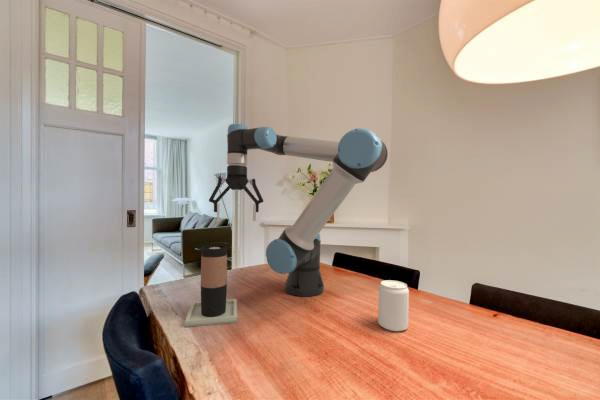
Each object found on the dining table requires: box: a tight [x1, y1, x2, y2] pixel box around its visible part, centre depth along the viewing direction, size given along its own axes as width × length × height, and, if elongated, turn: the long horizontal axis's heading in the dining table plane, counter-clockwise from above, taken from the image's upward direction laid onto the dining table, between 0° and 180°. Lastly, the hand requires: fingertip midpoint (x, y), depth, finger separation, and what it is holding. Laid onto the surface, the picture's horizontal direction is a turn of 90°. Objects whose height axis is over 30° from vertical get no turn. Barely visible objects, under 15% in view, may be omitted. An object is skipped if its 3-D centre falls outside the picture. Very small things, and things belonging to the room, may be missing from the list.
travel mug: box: [200, 244, 228, 317], centre depth 83 cm, size 8×8×20 cm
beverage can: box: [377, 279, 410, 332], centre depth 77 cm, size 8×8×12 cm
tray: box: [184, 298, 238, 328], centre depth 83 cm, size 14×14×2 cm
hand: (236, 221), depth 105 cm, fingers open, 13 cm apart
